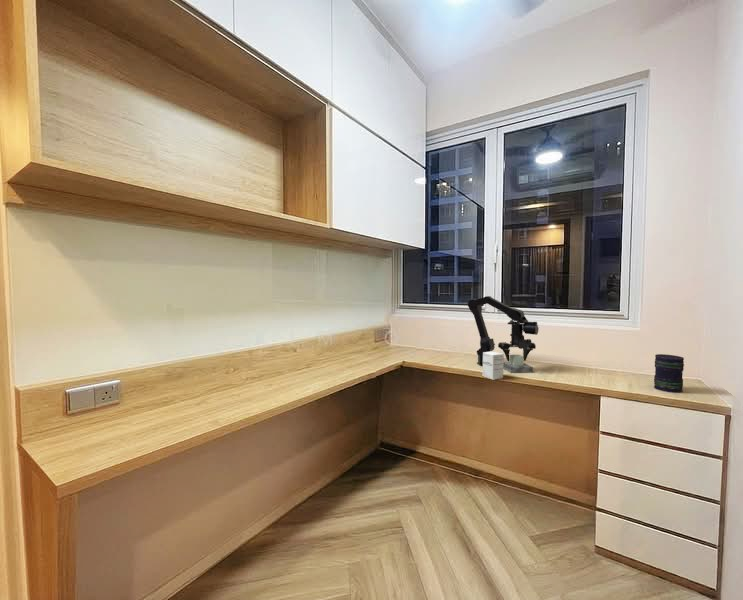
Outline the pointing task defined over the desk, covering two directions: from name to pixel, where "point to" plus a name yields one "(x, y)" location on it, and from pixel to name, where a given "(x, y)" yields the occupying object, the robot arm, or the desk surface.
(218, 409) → the desk surface
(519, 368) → the charcoal base
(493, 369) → the supplement box
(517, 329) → the robot arm
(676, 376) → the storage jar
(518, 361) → the sage cube
